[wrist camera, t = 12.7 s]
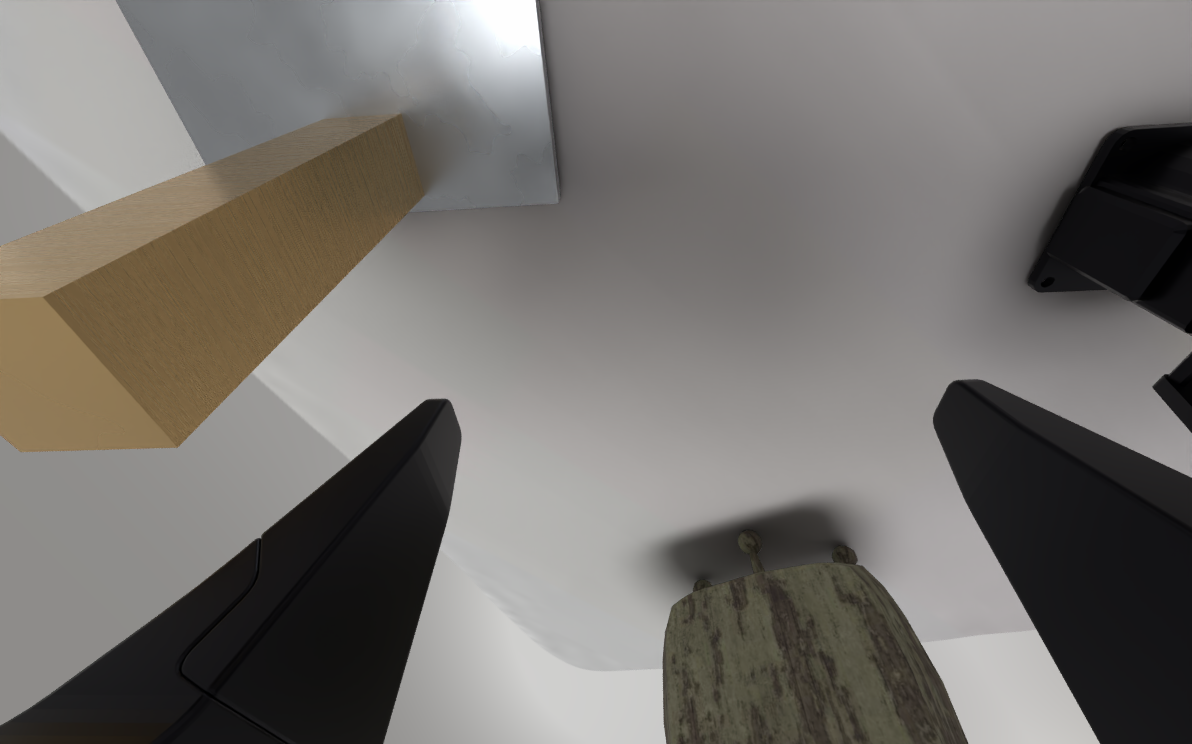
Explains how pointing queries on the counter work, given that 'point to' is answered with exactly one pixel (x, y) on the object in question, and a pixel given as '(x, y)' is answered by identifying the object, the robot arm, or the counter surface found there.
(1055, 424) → the robot arm
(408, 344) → the counter surface
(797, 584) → the tabletop clock
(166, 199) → the grey plate wooden post
